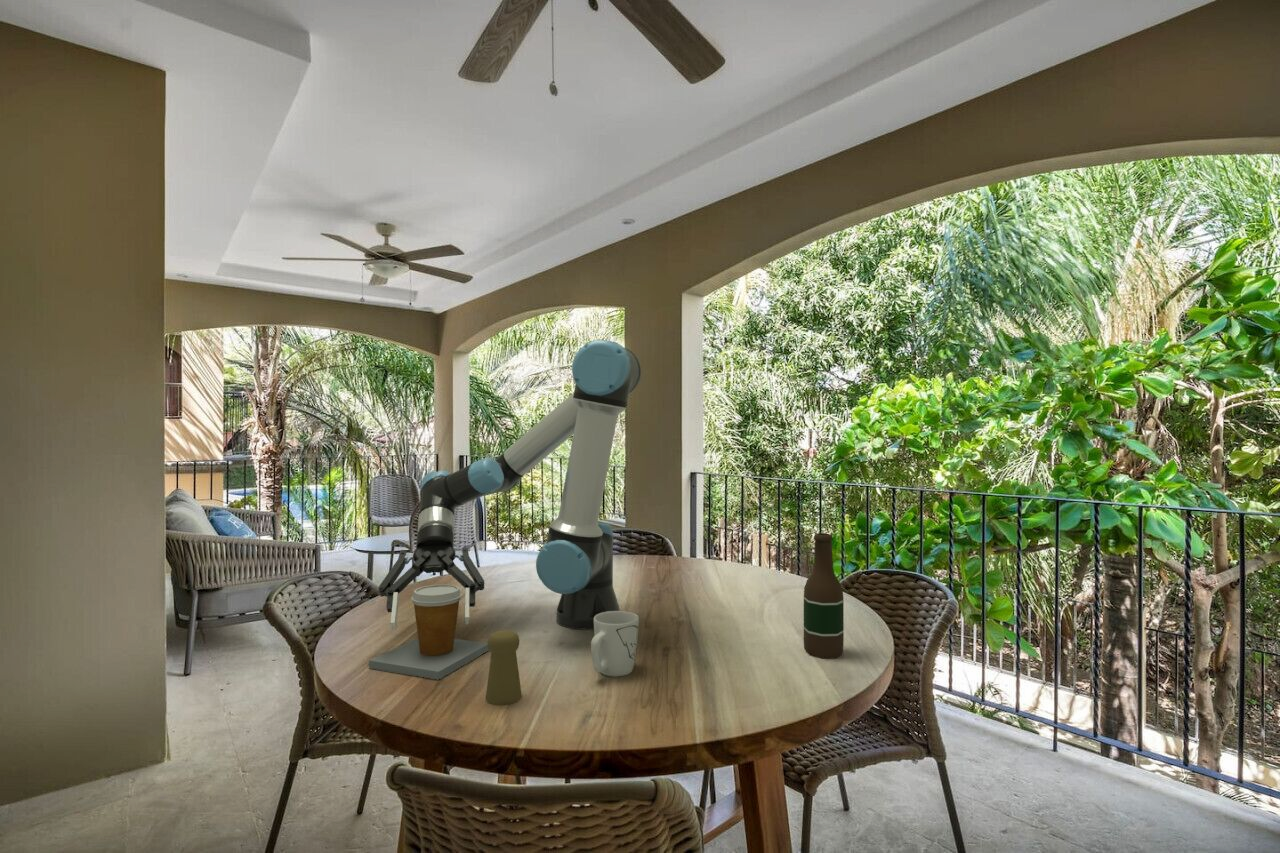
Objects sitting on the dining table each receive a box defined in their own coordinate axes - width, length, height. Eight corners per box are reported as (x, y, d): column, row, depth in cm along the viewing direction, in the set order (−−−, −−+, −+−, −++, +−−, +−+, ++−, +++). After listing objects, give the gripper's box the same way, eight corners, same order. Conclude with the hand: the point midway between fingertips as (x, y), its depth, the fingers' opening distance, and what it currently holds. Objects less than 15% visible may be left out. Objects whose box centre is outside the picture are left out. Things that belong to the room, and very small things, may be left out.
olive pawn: (488, 690, 109) (488, 626, 109) (523, 689, 110) (523, 626, 110) (482, 705, 103) (482, 638, 103) (519, 704, 104) (519, 637, 104)
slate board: (489, 650, 129) (489, 643, 129) (438, 680, 114) (438, 671, 114) (425, 641, 134) (425, 634, 134) (369, 668, 119) (369, 660, 119)
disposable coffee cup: (468, 643, 129) (469, 584, 129) (450, 660, 119) (450, 596, 119) (424, 641, 130) (424, 583, 130) (402, 658, 120) (402, 595, 120)
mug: (612, 688, 110) (612, 631, 110) (574, 678, 114) (574, 623, 114) (647, 667, 120) (646, 615, 120) (610, 659, 124) (610, 608, 124)
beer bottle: (843, 648, 130) (843, 532, 130) (843, 661, 123) (843, 538, 123) (805, 644, 133) (805, 530, 133) (802, 656, 125) (802, 536, 125)
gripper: (494, 540, 142) (496, 627, 127) (375, 545, 136) (363, 638, 121) (495, 520, 137) (497, 608, 122) (371, 525, 131) (358, 618, 116)
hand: (430, 623), depth 122 cm, fingers open, 13 cm apart
